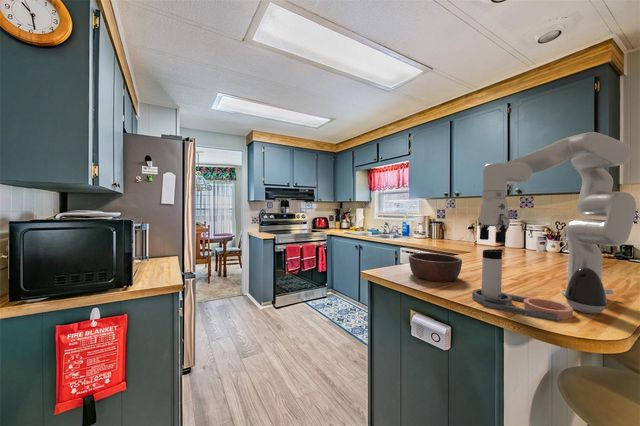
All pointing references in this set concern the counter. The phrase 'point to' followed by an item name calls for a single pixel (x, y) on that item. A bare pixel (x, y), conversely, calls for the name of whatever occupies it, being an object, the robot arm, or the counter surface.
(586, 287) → the dark gray tall dome
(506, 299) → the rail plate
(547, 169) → the robot arm
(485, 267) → the travel mug
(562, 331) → the counter surface
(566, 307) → the marked socket
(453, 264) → the wooden bowl
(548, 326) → the counter surface
